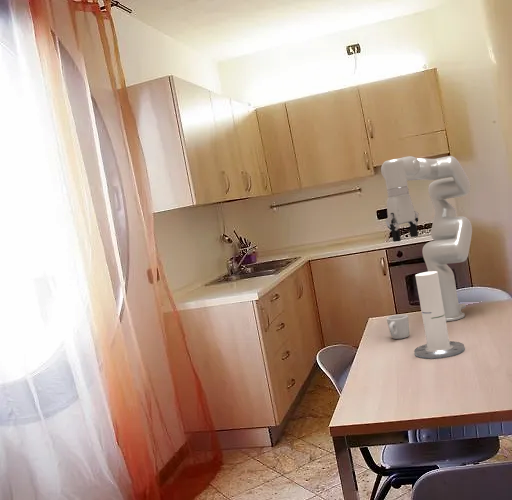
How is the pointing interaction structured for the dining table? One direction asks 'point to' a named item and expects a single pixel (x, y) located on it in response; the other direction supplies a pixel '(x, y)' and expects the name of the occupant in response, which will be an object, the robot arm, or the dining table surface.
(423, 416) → the dining table surface
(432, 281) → the cylindrical container
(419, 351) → the flange plate
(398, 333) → the cup
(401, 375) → the dining table surface
